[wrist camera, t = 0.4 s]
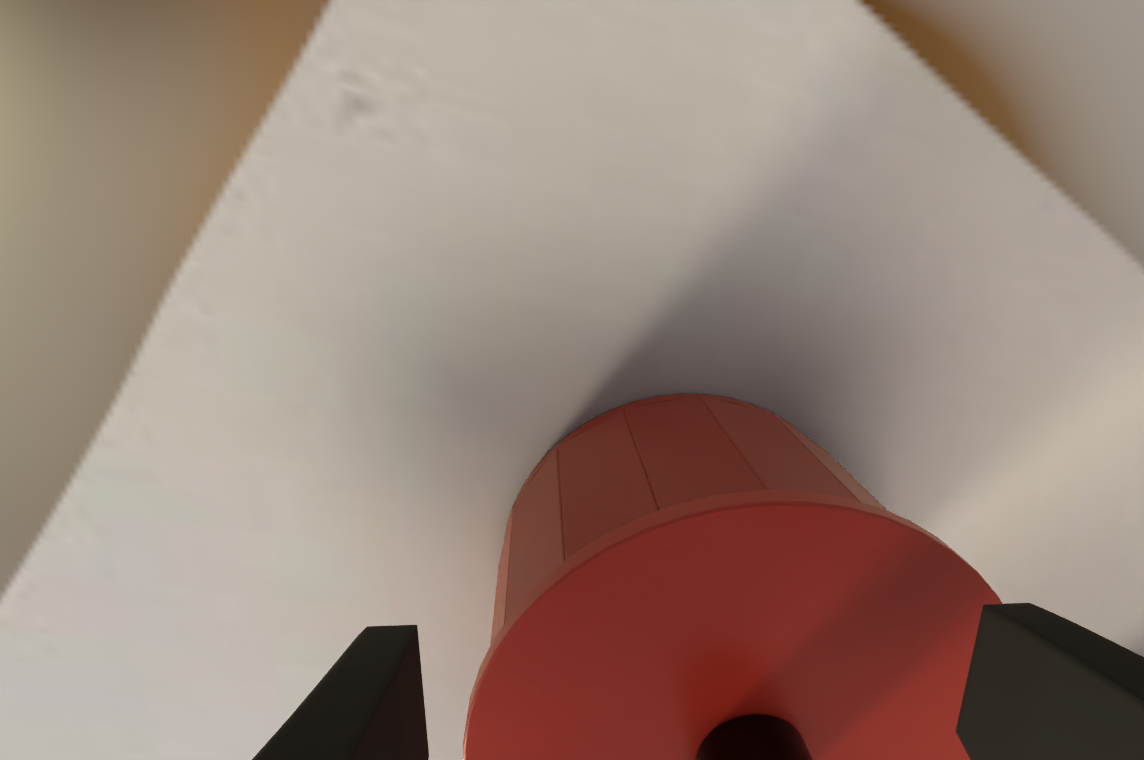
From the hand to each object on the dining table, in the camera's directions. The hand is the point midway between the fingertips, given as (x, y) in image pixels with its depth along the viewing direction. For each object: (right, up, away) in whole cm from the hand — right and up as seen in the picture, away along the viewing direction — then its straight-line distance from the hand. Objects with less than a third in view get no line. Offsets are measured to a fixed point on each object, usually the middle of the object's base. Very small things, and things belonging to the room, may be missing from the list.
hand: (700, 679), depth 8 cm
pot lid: (+2, -3, +5) cm, 6 cm away
